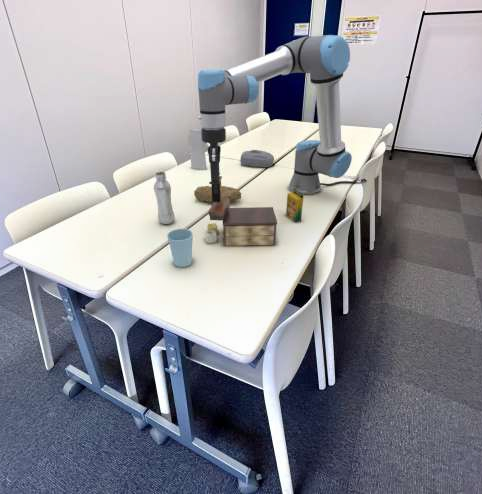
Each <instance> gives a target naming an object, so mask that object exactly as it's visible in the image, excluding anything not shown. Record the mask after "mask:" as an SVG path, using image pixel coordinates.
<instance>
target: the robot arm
mask: <svg viewBox="0 0 482 494" xmlns="http://www.w3.org/2000/svg"><path fill="white" fill-rule="evenodd" d="M350 60H351V49H350V46H349V42H348V41H347V40H346V39H345V38H344V37H343V36H341V35H334V34H326V35H313V36H312V35H311V36H310V35H309V36H303V37H300V38H297V39H295V40H292V41H290V42H287V43H285V44H283V45H280V46H278V47H277V48H276V49H275V51H273V52H270V53H267V54H265V55H262V56H259V57H257V58H254V59H251V60H249V61H246V62H243V63H241V64H238V65H236V66H232V67H229V68H226V69H225V70H224V69H201V70H200V71H198V73H197V90H198V91H197V92H198V103H199V112H200V113H199V114H200V115H199V116H198V117H197V118H198V120H199V121H200V127H201V129H200V130H201V137H202V141H203V142H205V144H209V145H208V146H207V154H208V162H209V169H210V181H209V183H208V184H209V185H210V187H212V202H211V203H214V202H220V181H219V176H221V180H222V179H223V176H222V175H220V174H221V172H220V163H221V150H222V149H221V145H220V144H222V143H224V142H225V141H226V140H227V129H226V128H225V127H226V126H227V120H226V106H229V105H241V104H244V105H245V104H249V103H254V102H255V101H256V100H257V99H258V97H259V89H260V88H259V87H260V86H259V84H260V83H262V82H264V81H267V80H269V79H272V78H274V77H277V76H279V75H281V76H287V75H289V74H297V73H300V74H301V73H302V74H309V79H310V83H311V85H314V87H315V88H314V89H315V98H316V108H317V109H316V110H317V111H316V112H317V123H318V134H319V139H310V140H309V139H307V140H302V141H299V142H297V143H296V147H295V151H294V152H295V153H294V168H293V174H292V176H291V179H290V182H289V184H288V189H289V191H290V192H294V188H295V189H296V190H298V191H299V192H301V193H302V194H303V195H306V196H307V195H315V194H318V193H320V191H321V189H322V186H325V187H330V186H334V185H338V184H357V183H356V182H357V181H358V180H339V181H335V182H331V183H324V182H321V181H320V176H319V174H321V175H323V176H327V177H329V178H334V179H339V178H341V177H343V176H344V175H345V174H346V173H347V172H348V170H349V169H350V167H351V163H352V161H353V156H352V154H351V153H350V152H349V151H347V150H346V143H345V142H344V141H343V140H342V121H341V98H340V97H341V95H340V81H341V80H342V79H343V77H344V73H345V72H346V70H347V69H348V67H349V63H350V62H351V61H350ZM219 143H220V144H219ZM360 180H361V182H360V183H362V182H366V183H367V181H368V180H367V179H366V178H362V179H360ZM299 192H297V191H296V193H298V195H300V193H299Z"/></svg>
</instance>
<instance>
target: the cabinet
mask: <svg viewBox="0 0 482 494" xmlns="http://www.w3.org/2000/svg"><path fill="white" fill-rule="evenodd" d="M277 225H278V221H277V216H276V213H275V209H274V207H273V206H262V207H261V206H260V207H257V206H256V207H255V206H253V207H229V209H228V212H227V214H226V216H225V218H224V220H223V221H222V227H223V228H222V229H223V246H224V247H228V246H230V247H231V246H232V247H233V246H234V247H237V246H276V238H277V237H276V236H277Z"/></svg>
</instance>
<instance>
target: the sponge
mask: <svg viewBox="0 0 482 494" xmlns="http://www.w3.org/2000/svg"><path fill="white" fill-rule="evenodd" d="M221 187H222V199H230V203H231V202H235V201H239V200H241V199H242V192H241V191H240V190H239V189H238V188H234V187H230V186H226V185H221ZM193 195H194V197H195V199H196V200H199V201H203V202H210V203H213V202H212V186H209V185H204V186H203V185H202V186H197V187H196V189H195V190H194V191H193Z"/></svg>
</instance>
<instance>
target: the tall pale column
mask: <svg viewBox="0 0 482 494" xmlns="http://www.w3.org/2000/svg"><path fill="white" fill-rule="evenodd" d="M187 138H188V143H189V149H190V157H189V158H190V164H191V165H190V166H191V167H190V169H195V170H201V171H202V170H203V171H206V170H207V157H206V151H205V149H206V148H205V146H206V145H205V144H206V143H205V142H203V141H202V137H201V129H198V128H194V129H189V134H188V135H187Z"/></svg>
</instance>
